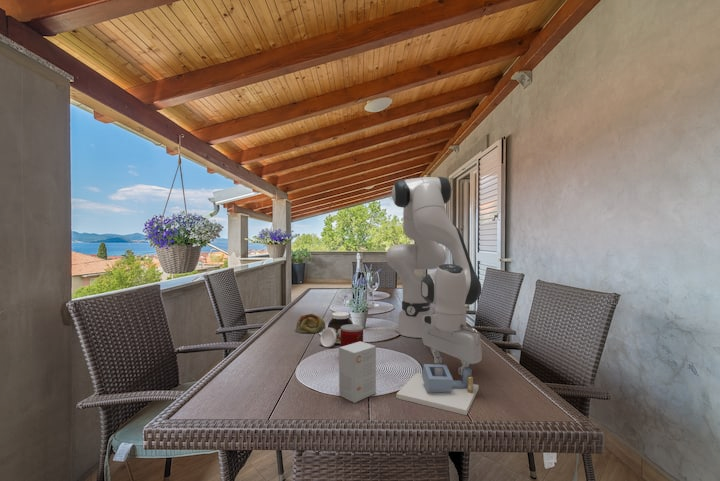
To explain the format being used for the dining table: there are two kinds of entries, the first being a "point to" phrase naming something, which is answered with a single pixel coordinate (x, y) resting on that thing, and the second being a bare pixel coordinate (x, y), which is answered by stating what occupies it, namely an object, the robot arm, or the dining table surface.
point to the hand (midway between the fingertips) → (449, 368)
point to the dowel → (470, 384)
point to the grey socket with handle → (442, 379)
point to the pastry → (310, 324)
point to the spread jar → (334, 329)
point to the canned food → (351, 334)
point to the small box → (357, 371)
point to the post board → (437, 395)
